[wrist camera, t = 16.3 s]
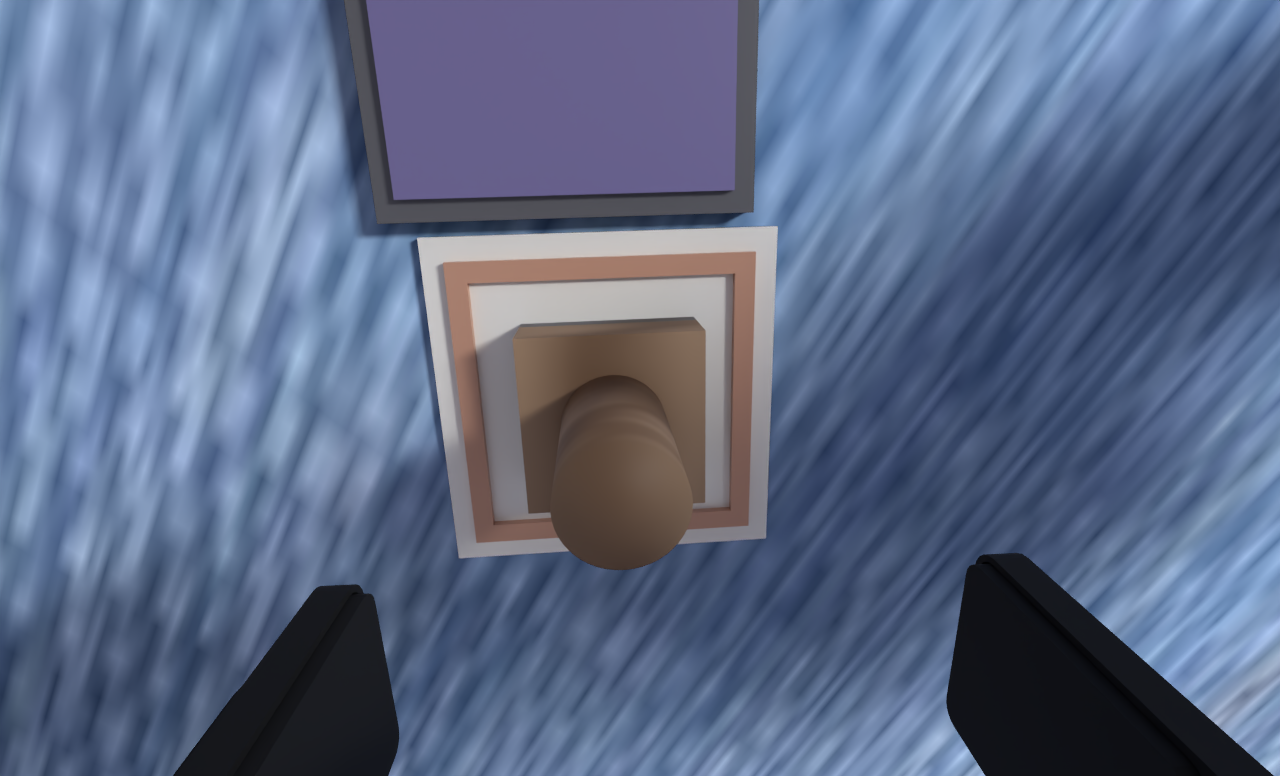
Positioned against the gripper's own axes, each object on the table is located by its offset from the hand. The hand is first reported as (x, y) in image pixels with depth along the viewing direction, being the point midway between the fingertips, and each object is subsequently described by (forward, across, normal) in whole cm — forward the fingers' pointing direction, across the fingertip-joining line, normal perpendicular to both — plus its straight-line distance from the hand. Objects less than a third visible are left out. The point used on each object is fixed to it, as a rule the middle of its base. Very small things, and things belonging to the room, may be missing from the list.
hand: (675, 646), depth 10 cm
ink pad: (+14, +2, -10) cm, 17 cm away
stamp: (+13, +1, 0) cm, 13 cm away
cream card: (+13, +1, 0) cm, 13 cm away
